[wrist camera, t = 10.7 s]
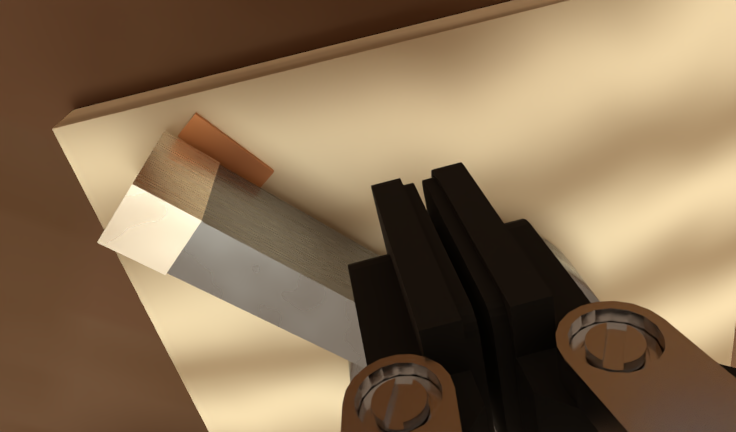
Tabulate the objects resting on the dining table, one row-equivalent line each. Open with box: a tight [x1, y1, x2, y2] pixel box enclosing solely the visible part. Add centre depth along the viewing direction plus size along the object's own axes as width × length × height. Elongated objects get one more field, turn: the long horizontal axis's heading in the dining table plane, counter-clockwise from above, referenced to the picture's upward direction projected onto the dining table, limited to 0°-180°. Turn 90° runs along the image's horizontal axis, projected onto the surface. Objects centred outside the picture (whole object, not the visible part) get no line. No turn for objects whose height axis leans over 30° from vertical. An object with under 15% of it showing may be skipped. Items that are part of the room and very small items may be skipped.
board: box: [52, 0, 736, 432], centre depth 25 cm, size 24×24×2 cm
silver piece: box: [97, 130, 600, 432], centre depth 20 cm, size 19×10×5 cm, turn 54°
